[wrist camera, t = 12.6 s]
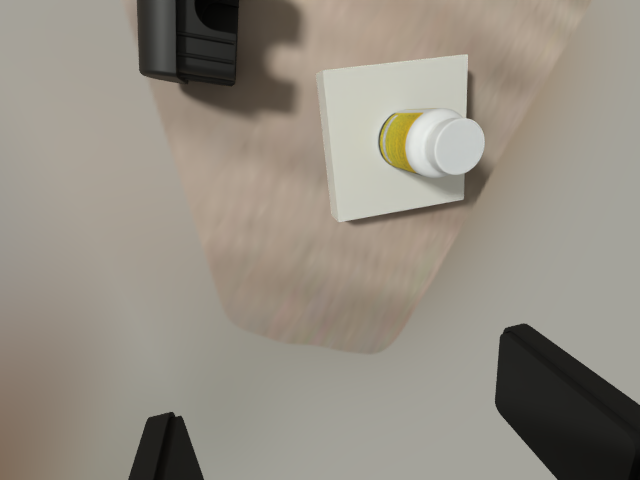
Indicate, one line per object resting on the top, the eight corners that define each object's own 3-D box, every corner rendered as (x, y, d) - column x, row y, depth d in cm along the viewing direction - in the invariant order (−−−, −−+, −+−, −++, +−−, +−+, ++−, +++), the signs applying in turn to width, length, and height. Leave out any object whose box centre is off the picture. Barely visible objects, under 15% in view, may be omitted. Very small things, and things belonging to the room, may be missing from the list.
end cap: (148, -58, 28) (121, -109, 21) (240, -37, 29) (240, -79, 23) (152, 80, 31) (129, 70, 24) (235, 91, 32) (233, 85, 26)
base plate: (315, 74, 33) (322, 70, 30) (450, 59, 35) (467, 54, 32) (331, 214, 38) (338, 222, 35) (448, 193, 40) (463, 199, 37)
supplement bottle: (381, 174, 35) (431, 194, 25) (369, 119, 33) (419, 118, 23) (431, 158, 35) (497, 171, 26) (422, 102, 33) (490, 96, 24)
